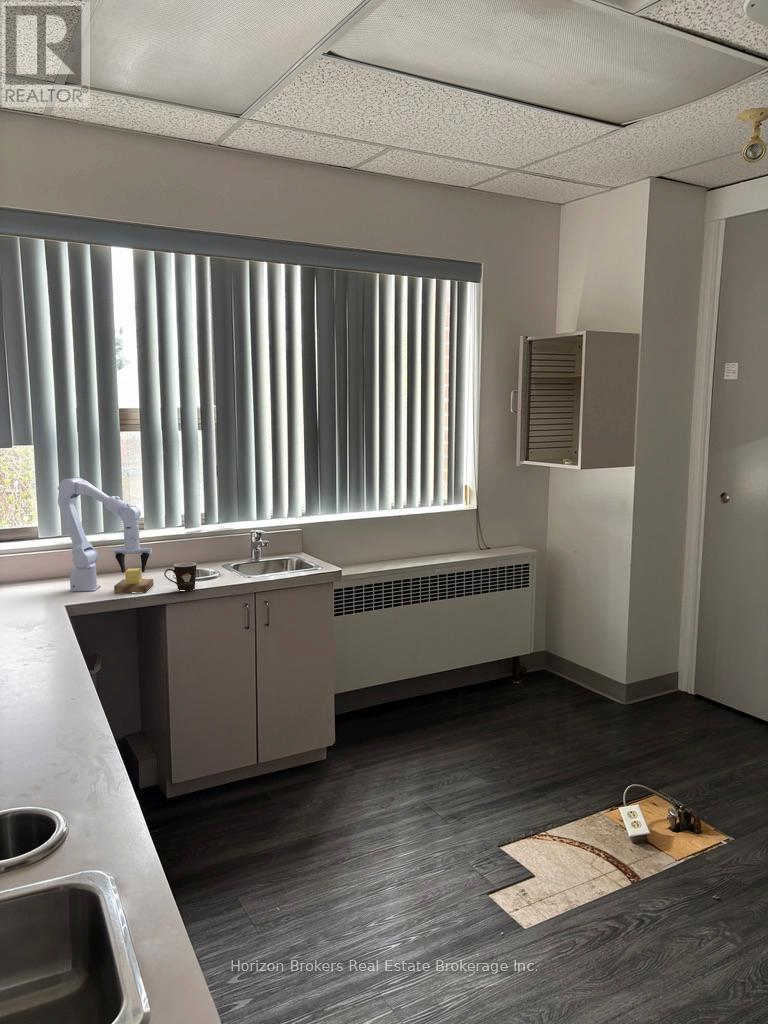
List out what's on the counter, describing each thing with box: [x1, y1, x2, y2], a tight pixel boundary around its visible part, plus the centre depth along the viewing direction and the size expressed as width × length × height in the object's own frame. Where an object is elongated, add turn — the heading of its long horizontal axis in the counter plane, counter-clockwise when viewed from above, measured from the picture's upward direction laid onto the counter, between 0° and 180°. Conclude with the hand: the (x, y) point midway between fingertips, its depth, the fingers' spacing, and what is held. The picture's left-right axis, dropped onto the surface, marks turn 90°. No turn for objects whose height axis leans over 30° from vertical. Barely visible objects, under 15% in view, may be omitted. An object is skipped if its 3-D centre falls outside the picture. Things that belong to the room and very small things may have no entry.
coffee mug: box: [163, 562, 198, 592], centre depth 301 cm, size 12×9×10 cm
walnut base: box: [113, 578, 154, 594], centre depth 302 cm, size 12×12×3 cm
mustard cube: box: [124, 567, 143, 584], centre depth 302 cm, size 5×5×5 cm
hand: (133, 572), depth 302 cm, fingers open, 7 cm apart
